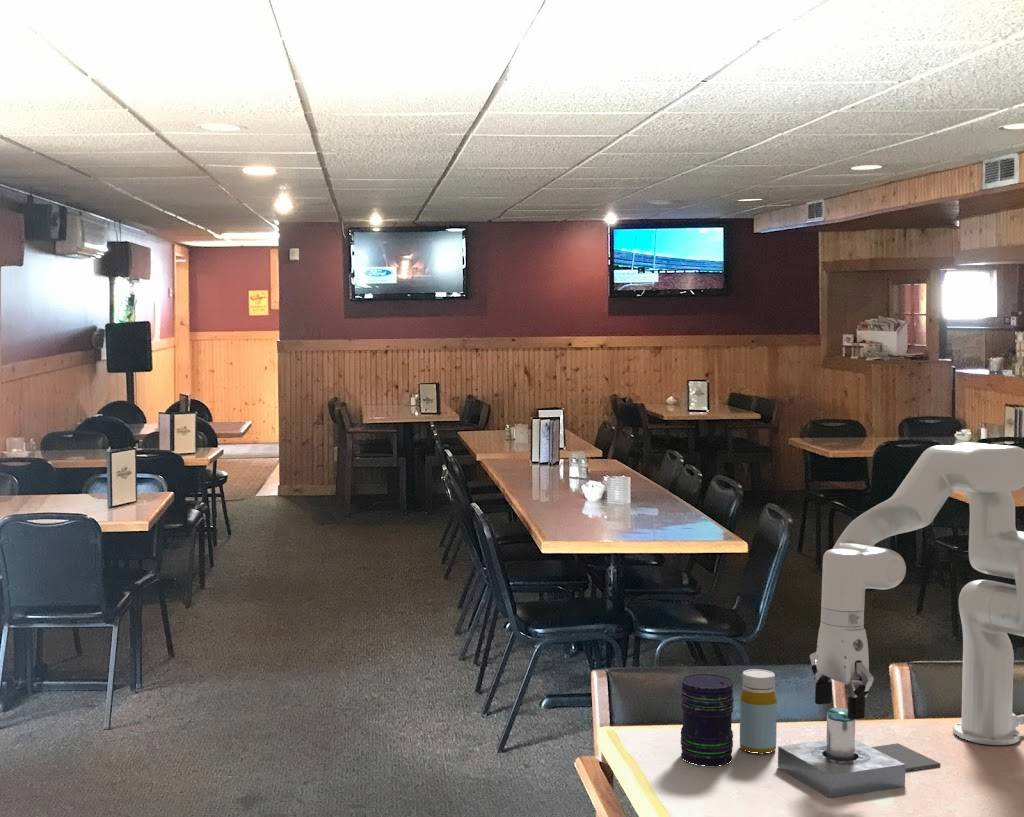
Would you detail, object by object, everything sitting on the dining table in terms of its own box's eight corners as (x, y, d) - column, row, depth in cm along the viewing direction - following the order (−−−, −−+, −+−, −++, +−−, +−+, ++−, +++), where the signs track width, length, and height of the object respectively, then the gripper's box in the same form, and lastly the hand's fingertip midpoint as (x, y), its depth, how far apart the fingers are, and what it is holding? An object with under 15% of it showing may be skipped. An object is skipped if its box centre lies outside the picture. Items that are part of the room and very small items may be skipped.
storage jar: (672, 761, 221) (673, 683, 221) (690, 746, 230) (691, 671, 229) (723, 770, 217) (724, 691, 216) (739, 754, 225) (740, 678, 225)
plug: (843, 770, 217) (844, 706, 216) (859, 779, 212) (861, 714, 212) (820, 773, 215) (821, 709, 215) (836, 783, 211) (838, 717, 210)
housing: (849, 757, 224) (849, 736, 224) (904, 786, 209) (905, 764, 209) (777, 767, 218) (778, 746, 218) (829, 797, 204) (830, 775, 203)
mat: (898, 746, 231) (898, 743, 231) (940, 766, 219) (940, 763, 219) (847, 753, 226) (847, 750, 226) (887, 774, 215) (887, 771, 215)
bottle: (776, 756, 224) (777, 679, 224) (739, 753, 226) (740, 677, 225) (775, 744, 231) (776, 669, 231) (739, 742, 233) (740, 667, 232)
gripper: (890, 626, 206) (887, 723, 206) (830, 607, 222) (827, 696, 222) (854, 629, 203) (851, 726, 204) (797, 609, 219) (794, 699, 220)
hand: (839, 710), depth 213 cm, fingers open, 9 cm apart
